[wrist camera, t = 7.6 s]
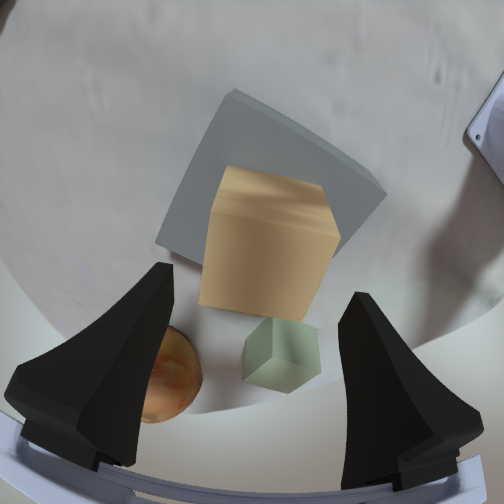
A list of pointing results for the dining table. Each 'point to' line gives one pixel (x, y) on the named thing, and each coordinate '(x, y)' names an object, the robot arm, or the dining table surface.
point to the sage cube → (281, 355)
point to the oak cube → (266, 244)
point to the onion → (172, 379)
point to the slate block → (265, 160)
